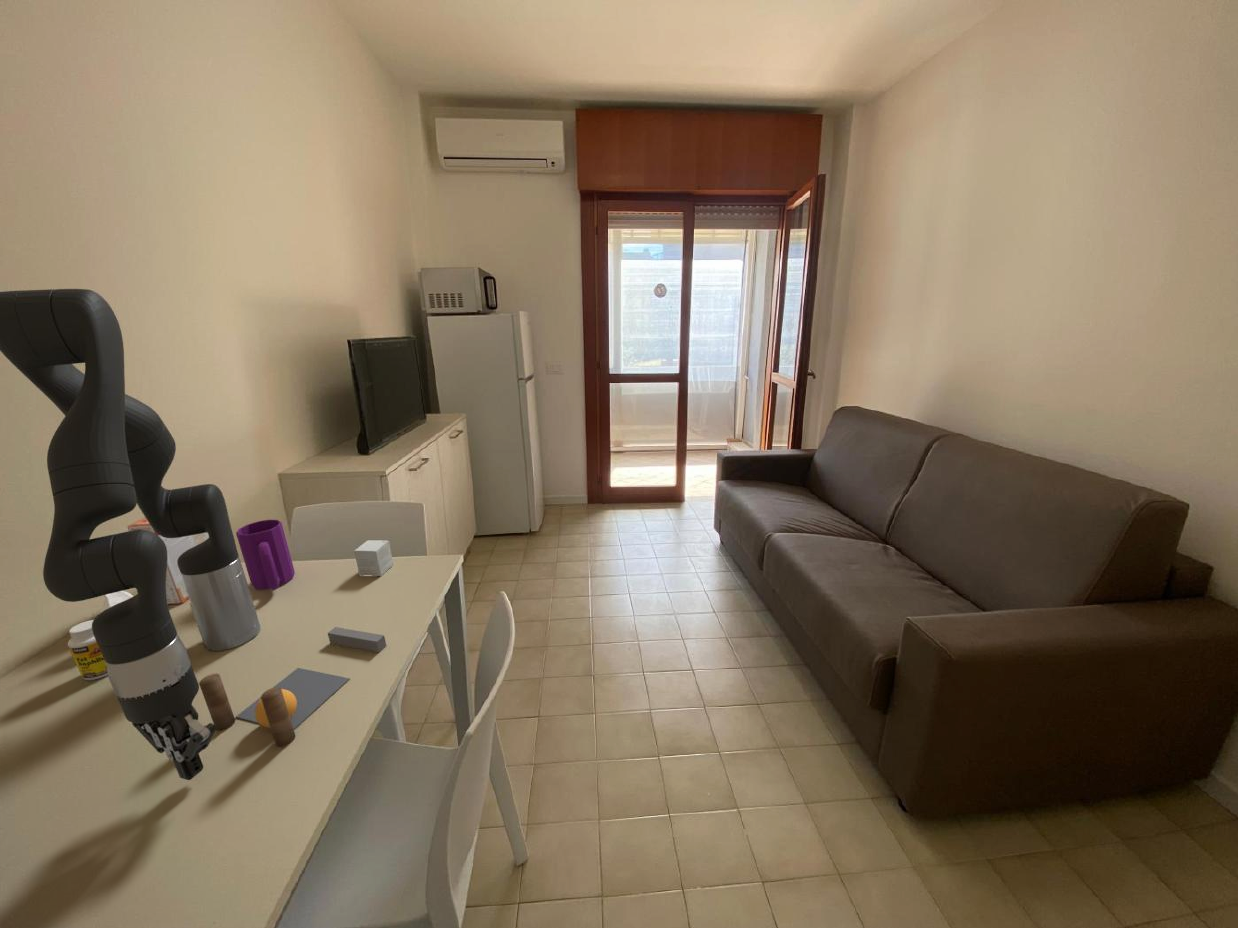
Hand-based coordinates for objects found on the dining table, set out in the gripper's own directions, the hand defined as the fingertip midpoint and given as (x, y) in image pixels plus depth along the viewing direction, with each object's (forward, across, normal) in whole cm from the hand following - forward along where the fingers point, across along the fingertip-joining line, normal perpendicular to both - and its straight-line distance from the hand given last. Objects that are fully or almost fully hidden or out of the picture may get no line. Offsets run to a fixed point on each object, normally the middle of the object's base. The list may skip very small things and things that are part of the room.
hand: (192, 773), depth 71 cm
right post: (+2, +6, +9) cm, 11 cm away
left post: (+2, -6, +9) cm, 11 cm away
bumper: (+2, 0, +31) cm, 31 cm away
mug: (+2, -38, +45) cm, 59 cm away
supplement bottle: (+2, -43, +13) cm, 45 cm away
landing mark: (+2, 0, +16) cm, 17 cm away
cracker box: (+2, -58, +39) cm, 70 cm away
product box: (+2, -18, +57) cm, 60 cm away
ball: (-1, +2, +12) cm, 12 cm away
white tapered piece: (+2, -51, +22) cm, 56 cm away
